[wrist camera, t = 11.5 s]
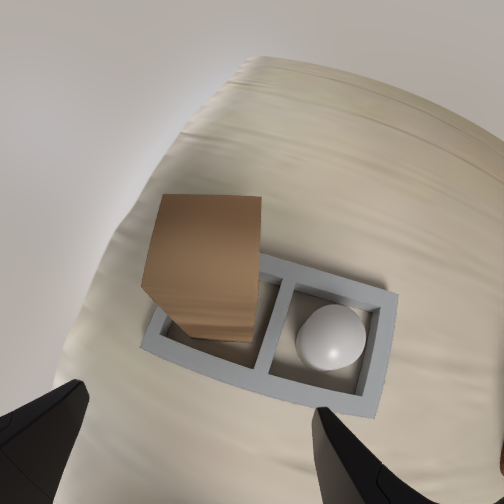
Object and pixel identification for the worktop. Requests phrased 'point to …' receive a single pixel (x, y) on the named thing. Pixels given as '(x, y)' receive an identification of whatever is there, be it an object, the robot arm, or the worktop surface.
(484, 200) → the worktop surface
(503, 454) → the food container
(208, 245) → the walnut block
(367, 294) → the grey divided frame
